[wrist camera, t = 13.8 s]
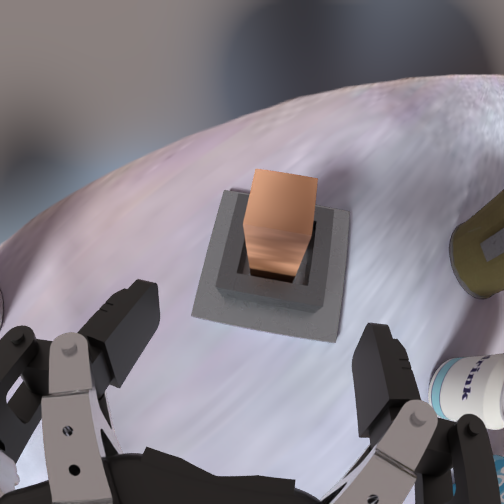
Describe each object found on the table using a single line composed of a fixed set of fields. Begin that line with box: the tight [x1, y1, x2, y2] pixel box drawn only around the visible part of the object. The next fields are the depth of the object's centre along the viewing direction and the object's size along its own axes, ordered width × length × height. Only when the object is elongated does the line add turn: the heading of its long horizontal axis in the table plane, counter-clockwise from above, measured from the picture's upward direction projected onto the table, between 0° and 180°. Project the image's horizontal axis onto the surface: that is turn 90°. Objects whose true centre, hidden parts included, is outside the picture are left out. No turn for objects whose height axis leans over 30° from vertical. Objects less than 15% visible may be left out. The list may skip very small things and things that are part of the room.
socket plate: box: [191, 190, 350, 343], centre depth 27 cm, size 14×14×5 cm
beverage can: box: [428, 353, 504, 430], centre depth 18 cm, size 7×7×12 cm
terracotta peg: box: [243, 169, 318, 283], centre depth 23 cm, size 4×4×12 cm
